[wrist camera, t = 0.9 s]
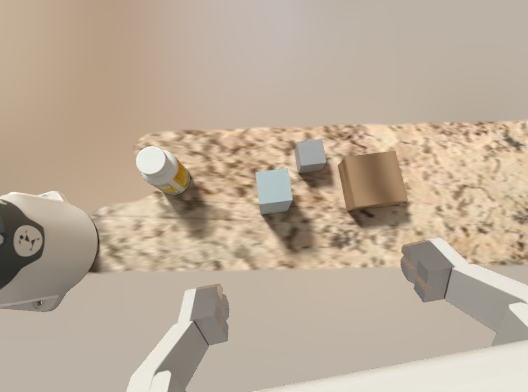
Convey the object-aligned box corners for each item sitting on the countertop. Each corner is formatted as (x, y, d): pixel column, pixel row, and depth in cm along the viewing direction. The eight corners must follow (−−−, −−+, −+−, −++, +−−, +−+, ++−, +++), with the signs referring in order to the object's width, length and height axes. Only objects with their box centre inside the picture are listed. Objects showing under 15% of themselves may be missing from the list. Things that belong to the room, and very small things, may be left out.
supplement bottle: (171, 201, 43) (144, 187, 33) (153, 178, 44) (122, 157, 34) (197, 182, 43) (177, 162, 34) (179, 159, 44) (155, 134, 35)
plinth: (347, 211, 42) (355, 206, 38) (338, 165, 44) (345, 157, 40) (394, 205, 42) (407, 200, 38) (383, 159, 44) (395, 150, 40)
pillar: (260, 214, 42) (259, 204, 33) (257, 188, 43) (255, 172, 34) (287, 210, 42) (292, 200, 33) (283, 185, 43) (287, 168, 34)
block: (298, 173, 44) (301, 165, 40) (294, 151, 45) (297, 142, 41) (321, 170, 44) (326, 162, 40) (317, 149, 45) (322, 139, 41)
